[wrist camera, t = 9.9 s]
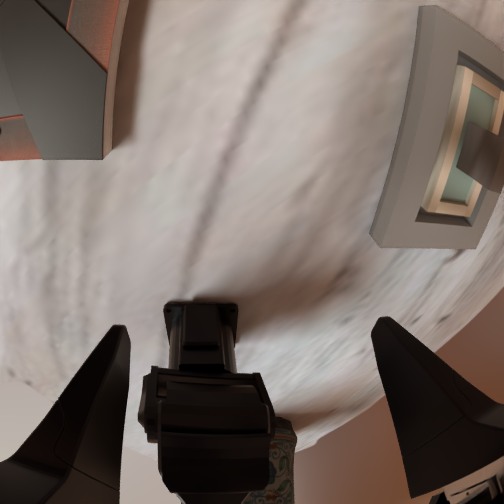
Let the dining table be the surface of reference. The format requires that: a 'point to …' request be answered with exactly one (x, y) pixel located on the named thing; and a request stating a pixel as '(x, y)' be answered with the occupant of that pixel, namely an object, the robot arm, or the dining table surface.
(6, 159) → the picture frame
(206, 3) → the dining table surface
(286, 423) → the beer stein
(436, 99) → the grey flat frame
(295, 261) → the dining table surface
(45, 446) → the robot arm
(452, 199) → the picture frame
